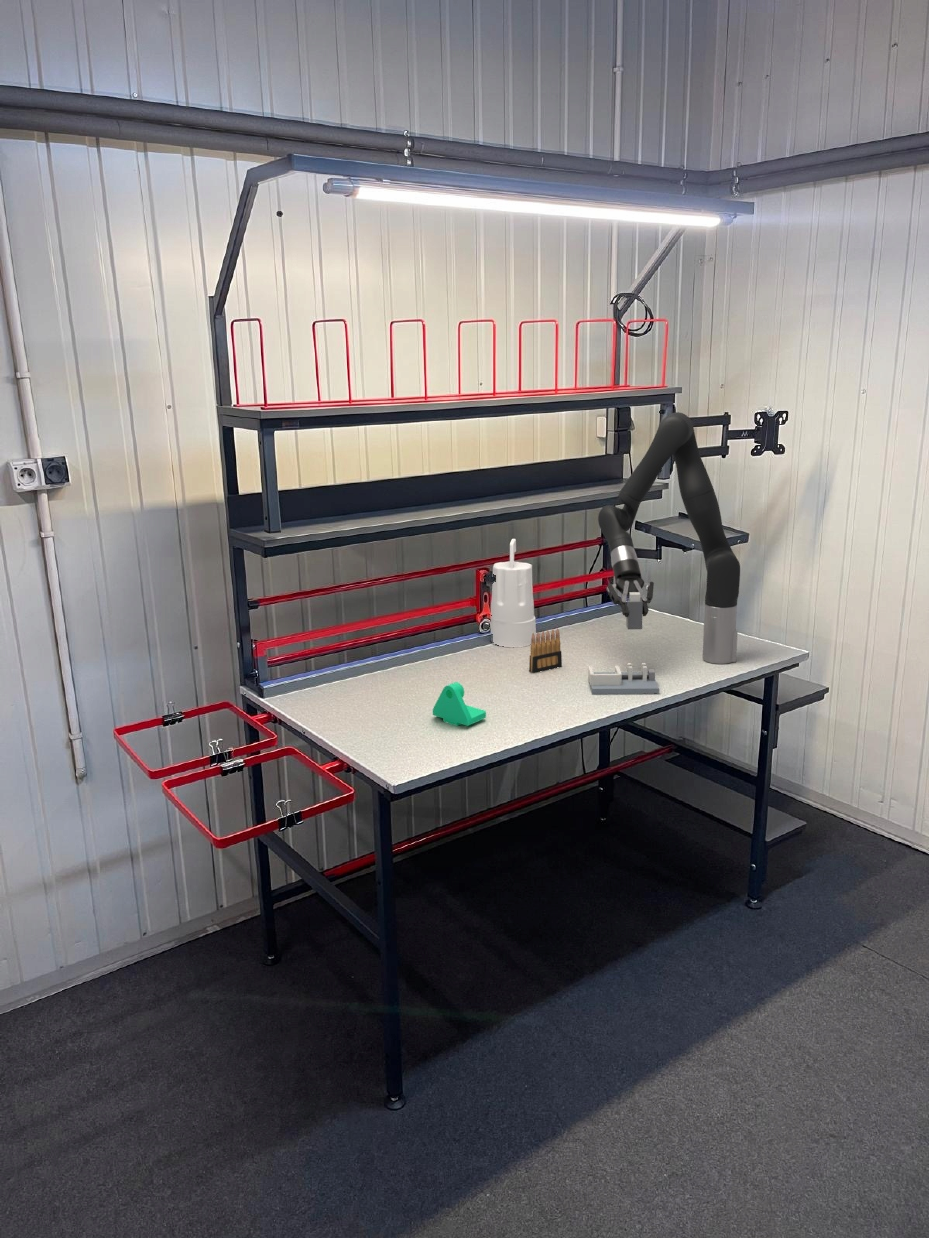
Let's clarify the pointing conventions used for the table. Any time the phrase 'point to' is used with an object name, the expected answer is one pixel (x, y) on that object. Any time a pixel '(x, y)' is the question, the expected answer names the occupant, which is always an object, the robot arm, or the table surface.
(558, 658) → the ammunition clip
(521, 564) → the white tapered cylinder
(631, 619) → the block
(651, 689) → the board
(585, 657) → the table surface
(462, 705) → the camera mount
